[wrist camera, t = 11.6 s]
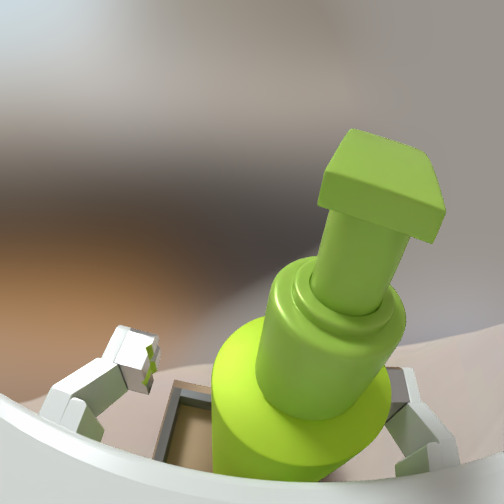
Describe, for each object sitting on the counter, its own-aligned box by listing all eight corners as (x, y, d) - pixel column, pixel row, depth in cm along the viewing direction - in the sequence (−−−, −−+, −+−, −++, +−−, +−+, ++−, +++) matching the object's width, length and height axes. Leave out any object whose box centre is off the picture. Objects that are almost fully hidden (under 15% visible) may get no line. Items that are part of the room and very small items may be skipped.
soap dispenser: (316, 438, 19) (473, 160, 7) (281, 520, 13) (585, 309, 2) (241, 411, 20) (294, 103, 9) (197, 487, 15) (133, 157, 3)
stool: (295, 428, 25) (320, 392, 21) (288, 544, 15) (318, 546, 11) (178, 410, 25) (173, 369, 21) (150, 525, 15) (130, 521, 11)
